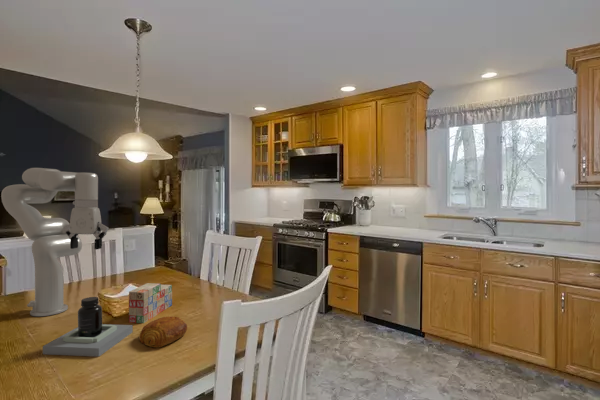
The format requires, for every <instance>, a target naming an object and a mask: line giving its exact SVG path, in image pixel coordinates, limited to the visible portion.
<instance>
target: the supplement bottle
mask: <svg viewBox="0 0 600 400" xmlns="http://www.w3.org/2000/svg"><path fill="white" fill-rule="evenodd" d="M80 301H81V303H80V306H81V307H80V308H79V309H78V311H77V327H78V336H79V337H95V336H98V335H99V334H101V332H102V324H103V308H102V306H101V305H100V304H99V297H97V296H90V297H89V296H88V297H85V298H82V299H80Z"/></svg>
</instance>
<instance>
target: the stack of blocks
mask: <svg viewBox="0 0 600 400" xmlns="http://www.w3.org/2000/svg"><path fill="white" fill-rule="evenodd" d="M171 306H173V285H172V284H161V283H150V282H149V283H147V282H146V283H144V284H143V285H140V286H138V287H136V288H134V289H132V290H130V291H128V323H130V324H131V323H132V324H145V323H146V322H147V323H148V321H150V320H151V319H153V318H154V317H156V316H158V315H159V314H160V313H162V312H163V311H165V310H167V309H168V308H170V307H171Z"/></svg>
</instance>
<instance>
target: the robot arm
mask: <svg viewBox="0 0 600 400" xmlns="http://www.w3.org/2000/svg"><path fill="white" fill-rule="evenodd" d="M98 176H99V175H98V174H97V173H94V172H74V171H62V170H60V169H56V168H46V167H44V168H43V167H30V168H27V169H26V170H24V171H23V172H22V175H21V180H22V181H23V183H24V184H23V183H21V184H20V183H18V184H12V185H7V186H6V187H4V188H3V189H2V191H1V194H0V195H1V196H0V197H1V203H2V205H3V207H4V209H5V210H6V212H8V214H9V215H10V216H12V218H14V220H16V222H17V224H18V225H19V226H20V228H21V229H22V231H23V233H24V234H25V236H26V237H27V238H28V239H29V240H31V241H33V242H32V244H31V252H32V253H31V254H32V257H33V262H34V263H33V264H34V300H30V301H29V303H27V304H26V305H27V306H26V307H29V308H30V307H31V308H32V309H31V310H30V311H29V315H30V316H32V317H47V316H49V317H50V316H53V315H58V314H61V313H63V312H64V313H65V312H66V311H67V310H68V309H69V305H68V304H66V303H64V267H63V265H62V263H61V262H60V261H59V259H58V258H65V257H70V256H75V255H77V254H79V253H80V252H81V250H82V247H83V243H82V240H81V238H80V236H79V235H93V236H94V238H95V239H94V250H100V249H102V248H103V247H102V246H103V239H104V238H105V236H106V235H107V233H108V231H109V230H110V229H109V227H108V226H106V225H105V224H103V223H102V216H101V211H100V208H99V177H98ZM58 192H74V201H73V202H72V205H74V207H73V208H72V209H71V212H70V220H69V221H68V220H67V219H65V218H62V217H44V216H43V215H42V213H41V212H40V211H39V210H38V209H37V208H36V207H34V206H32V205H30V204H47V203H49V202H51V201H52V200H53V199H54V197H56V195H57V194H58Z"/></svg>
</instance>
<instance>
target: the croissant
mask: <svg viewBox="0 0 600 400" xmlns="http://www.w3.org/2000/svg"><path fill="white" fill-rule="evenodd" d="M187 330H188V325H187V323H186V322H185V321H184V320H183V319H182V318H180V317H178V316H163V317H160V318H157V319H154V320H152V321H150V322H147V324H145V325H144V326H143V327H142V329H141V331H140V332H139V342H140V343H141V344H143V345H145V346H147V347H152V348H157V349H158V348H162V347H165V346H167V345H169V344H171V343H174V342H175V341H177V340H179V339H180V338H182V337H183V336H184V335H185V334H186V333H187Z"/></svg>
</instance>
